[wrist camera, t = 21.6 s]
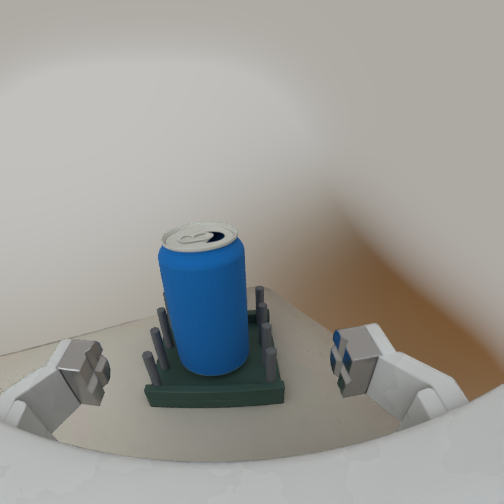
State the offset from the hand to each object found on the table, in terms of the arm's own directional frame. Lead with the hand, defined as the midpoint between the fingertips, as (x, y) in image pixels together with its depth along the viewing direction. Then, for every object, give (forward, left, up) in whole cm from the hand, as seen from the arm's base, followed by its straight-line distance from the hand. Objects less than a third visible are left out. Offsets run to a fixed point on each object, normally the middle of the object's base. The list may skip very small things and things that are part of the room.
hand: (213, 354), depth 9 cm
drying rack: (+2, -13, -13) cm, 19 cm away
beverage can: (+2, -13, -13) cm, 18 cm away
